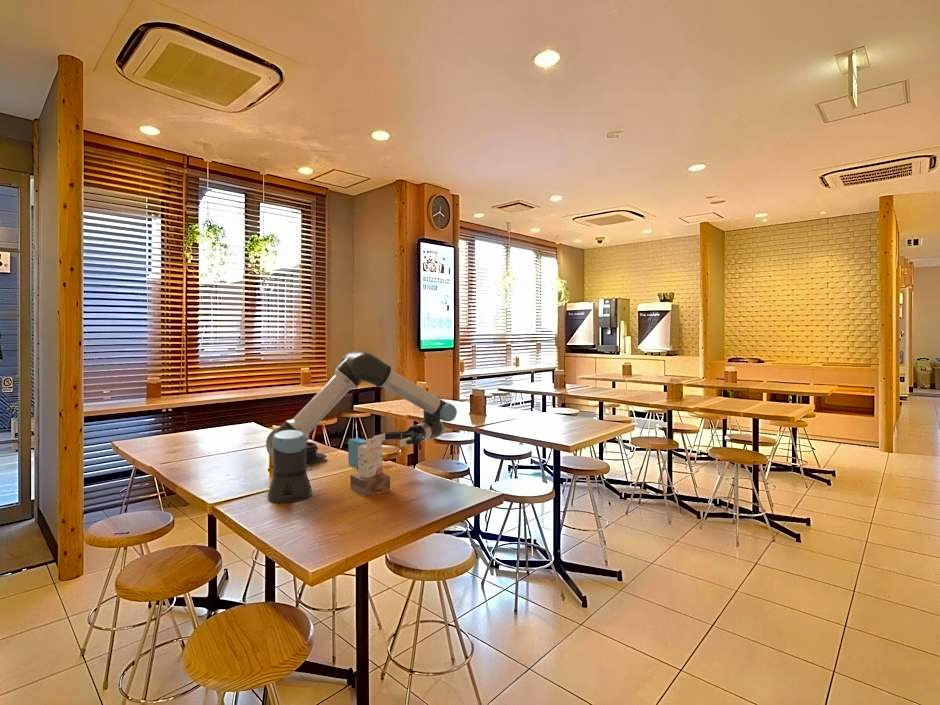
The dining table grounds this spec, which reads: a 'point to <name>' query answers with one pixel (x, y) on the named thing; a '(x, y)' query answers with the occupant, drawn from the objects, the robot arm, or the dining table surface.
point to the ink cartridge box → (370, 458)
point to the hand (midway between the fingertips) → (386, 441)
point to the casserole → (313, 453)
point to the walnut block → (370, 483)
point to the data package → (354, 450)
